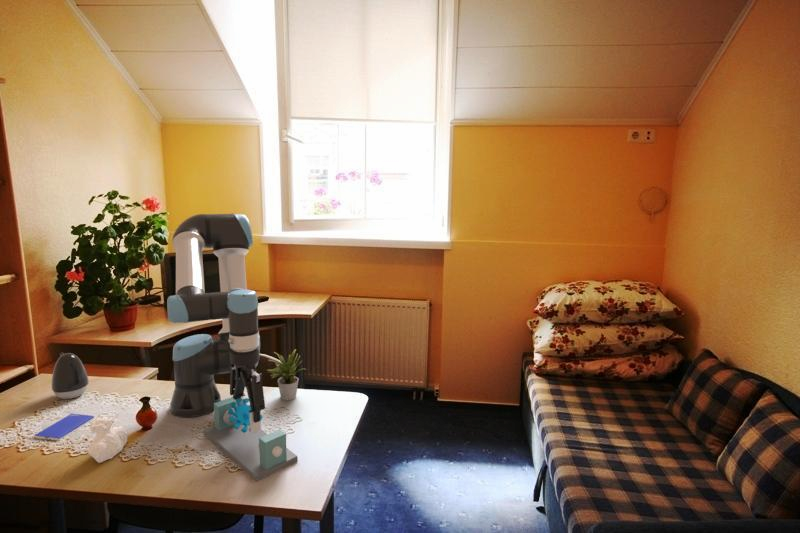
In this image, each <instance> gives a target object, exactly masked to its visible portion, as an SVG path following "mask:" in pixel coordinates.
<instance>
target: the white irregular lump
mask: <svg viewBox="0 0 800 533" xmlns="http://www.w3.org/2000/svg"><path fill="white" fill-rule="evenodd" d="M113 424H114V423H113V421H112V420H111V416H110V415H109V416H107V417H106V416H105V417H96V418H94V419H93V420H92V421H90V422H89V428H90V431H91V433H92V434H95V433H96V435H95V436H94V438H93V440H91V441H90V444H89V445H88V449H87V451H86V452H87V454H88V455H89V456H91V457H92V458H93V459H94V460H95V461H96V462H97V463H98V464H100V463H104V462H105V461H108V460H111V459H113V458H114V457H115V456H117V455H118V454H119V453H120V452H122V451H123V448H124V446H125V445H126V444H127V442H128V437H129V436H128V432H127V430H126V429H125V426H121V425H119V426H114V427H112V426H113Z"/></svg>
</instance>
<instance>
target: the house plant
mask: <svg viewBox="0 0 800 533" xmlns="http://www.w3.org/2000/svg"><path fill="white" fill-rule="evenodd" d="M296 352H297V348H295V349H293V350H292V353H289V355H288V357H287V361H286V360H285V358H284V356H282V355H281V354H279V353H277V352H275V351H273V353H274V354H276V355H277V357H278V359H279V361H280V363H281V364H280V363H279V362H277V361H276V360H274V359H269V362H273V363H274V365H275V366H277V367H275V368H273V369H271V368H270V369H266V371H267V372H271V373H272V374H270V377H271V378H270V379H271V380H272V379H274V378H276V377H279V378H278V379H277V384H278V390H279V394H280V399H281V400H283V401H291V400H294V399H296V398H297V392H298V385H299V377H297V376H295V375H296V374H297V373H298V372H299V371H301V370H306V368H304V367H303V368H300V369H298V370H297V367H299V365H300V364H301V363H302V362H303V360H301V361H300V362H299V360H300V357H301V355H299V356H298V353H296ZM295 353H296V356H295Z"/></svg>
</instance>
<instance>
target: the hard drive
mask: <svg viewBox="0 0 800 533" xmlns="http://www.w3.org/2000/svg"><path fill="white" fill-rule="evenodd" d="M94 419H95V416H94V415H88V414H79V413H78V414H77V413H70V414H68V415H67V416H65V417H63V418H61V419H60V420H58V421H56V422H55V423H53V424H52V425H49V426H48V427H46V428H44V429H43V430H41V431H39V432H37V433H36V434H34V435H33V438H34V439H40V440H41V439H42V440H49V439H51V440H52V441H58V440H59V441H61V440H62V438H63V437H64V438H66V437H67V436H69V435H71V434H72V433H74V432H76V431H77V430H78V429H80V428H83V427H84V426H85V425H87V424H88V423H91V422H92V421H93V420H94ZM75 430H76V431H75ZM70 433H71V434H70ZM65 436H66V437H65ZM64 438H63V439H64Z"/></svg>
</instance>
